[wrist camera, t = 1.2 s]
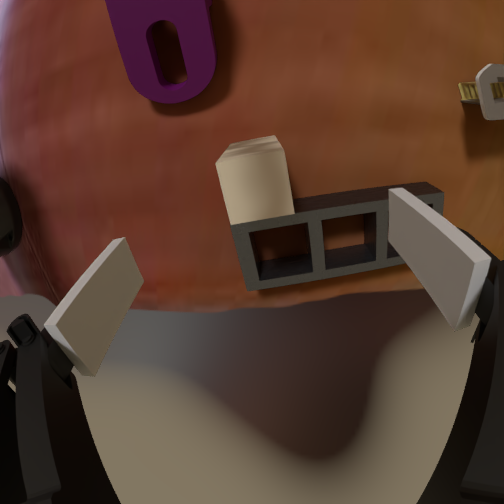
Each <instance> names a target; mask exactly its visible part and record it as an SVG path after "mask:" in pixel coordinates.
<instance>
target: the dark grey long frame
mask: <svg viewBox="0 0 504 504" xmlns="http://www.w3.org/2000/svg"><path fill="white" fill-rule="evenodd" d="M394 188H404V189H405V190H407V191H408V192H409V193H411V194H412V195H414V196H415V197H417V198H418V199H419V200H421V201H422V202H424V203H425V204H426V205H428V206H429V207H431V208H432V209H433V210H435V211H436V212H437V213H439V214H440V215H441V216H442V217H443V204H444V192H443V191H441V190H439V189H438V188H436V187H434V186H433V185H431V184H429V183H427V182H419V183H409V184H400V185H392V186H383V187H375V188H367V189H360V190H352V191H345V192H338V193H331V194H325V195H318V196H311V197H305V198H299V199H293V207H294V213H295V214H291V215H285V216H279V217H273V218H268V219H262V220H256V221H251V222H245V223H239V224H234V225H231V223H230V227H231V231H232V235H233V239H234V242H235V246H236V250H237V254H238V258H239V262H240V265H241V269H242V273H243V277H244V280H245V284H246V288H247V291H253V290H260V289H266V288H273V287H279V286H285V285H291V284H297V283H303V282H309V281H315V280H321V279H326V278H332V277H338V276H343V275H348V274H354V273H359V272H364V271H369V270H375V269H380V268H385V267H389V266H394V265H399V264H404V263H406V262H405V261H404V260H403V259H402V257H401V256H400V255H399V253H398V252H397V251H396V250H395V248H394V247H393V246H392V245H391V244H390V242H389V241H388V210H389V190H388V189H394ZM363 213H364V244H360V245H355V246H349V247H343V248H337V249H331V250H326V251H324V243H323V232H322V222H321V220H325V219H331V218H337V217H344V216H350V215H356V214H363ZM300 223H304V227H305V235H306V243H307V251H308V254H302V255H296V256H290V257H284V258H278V259H272V260H266V261H260V262H259V257H258V253H257V248H256V243H255V239H254V234H253V231H259V230H265V229H270V228H276V227H282V226H288V225H294V224H300Z"/></svg>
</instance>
